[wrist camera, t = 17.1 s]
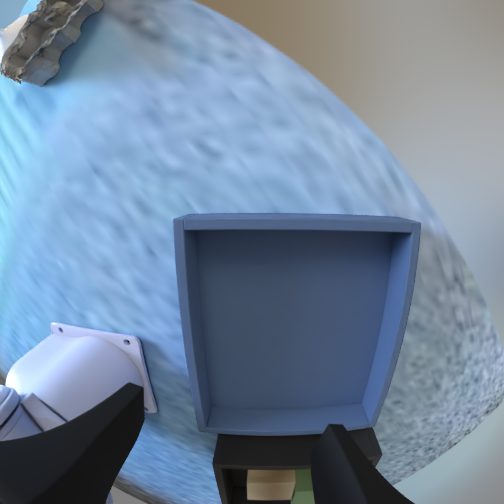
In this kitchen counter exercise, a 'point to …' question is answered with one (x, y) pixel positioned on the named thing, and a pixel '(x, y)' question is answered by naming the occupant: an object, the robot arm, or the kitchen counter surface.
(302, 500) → the green cube
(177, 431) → the kitchen counter surface
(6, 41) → the champagne flute
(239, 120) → the kitchen counter surface
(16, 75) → the egg carton
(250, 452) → the black basket
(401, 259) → the blue box
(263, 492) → the cream cube
